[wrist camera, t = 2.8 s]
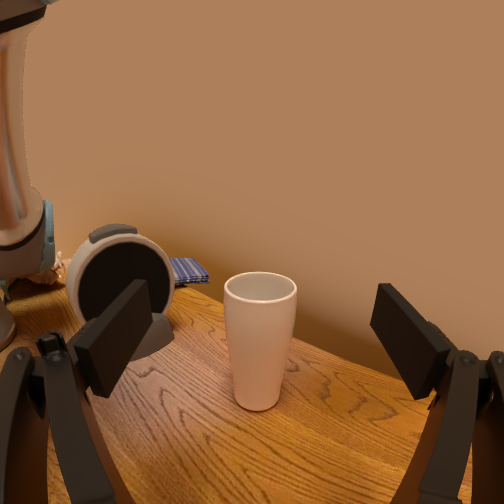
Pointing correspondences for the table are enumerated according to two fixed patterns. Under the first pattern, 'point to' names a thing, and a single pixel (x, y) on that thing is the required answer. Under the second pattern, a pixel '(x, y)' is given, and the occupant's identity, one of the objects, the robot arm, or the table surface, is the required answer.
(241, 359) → the drinking glass
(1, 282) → the soap bottle
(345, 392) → the table surface
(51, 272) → the baking tray
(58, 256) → the figurine
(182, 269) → the dish towel
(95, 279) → the alarm clock
